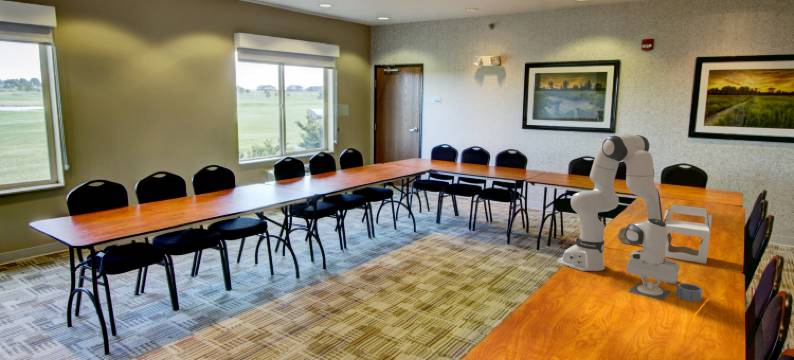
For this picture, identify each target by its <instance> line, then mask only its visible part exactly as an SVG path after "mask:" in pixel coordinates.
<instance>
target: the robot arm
mask: <svg viewBox="0 0 794 360" xmlns="http://www.w3.org/2000/svg"><path fill="white" fill-rule="evenodd" d="M649 150H650V142H649V140H648V138H647V137H645V136H643V135H640V134H620V135H611V136H608V137H607V138H605V139H604V140H603V142H602V144H601V145H600V146H599V148H598V150H597V152H596V155H595V157H594V160H593V163H592V166H591V170H590V173H589V179H590V181H591V182H592V184H593V183H594V187H593V189H592V190H582V191H578V192H576V193H574V194H572V196H571V198H570V206H571V209H572V210H573V211H575V213H576V214H577V216H578V218H579V222H580V223H579V224H580V231H579V233H580V234H579V236H578V237H576V239H575V240H574V243H575V244H574V245H572V246H570V247H569V248H567V249H565V250H564V252H563V255H562V257H560V258H558V259H557V263H558V264H560V265H563V266H565V267H568V266H569V267H570V268H572V269H575V270H579V271H582V272H587V271H588V272H589V271H591V272H600V271H603V270H605V269H606V268H605V262H604V251H605V240H604V239H605V230H606V229H605V228H606V226H605V224H604V223H603V222H602V221H601V220H600V218H599V214H598V213H604V212H610V211H612V210H615V209H616V208H617V207H618V206H619V203H620V199H619V198H620V197H619V196H618V195H619V194H617V192H616V191H615V189H614V187H615V186H614V184H615V178H616V175H617V171H618V168H619V164H620V163H621V162H622V161H623V162H624V164H625V166H626V173H625V175H626V177H625V183H626V188H627V189H628V191H630V193H632V194H634V196H638V197H640V198H642V199H643V201H644V202H645V205H646V213H647V219H646V220H644V221H640V222H633V223H629V224H628V225H627V226H625V227H626V230H625V237H626V239H627V240H628V242H630V243H631V244H630V245H637V246H642V250H641V249H639V250H634V251H632V252H631V253H630V255H629V256H630V258H629V259H628V261H627V262H626V263H627V264H626V267H625V268H626V272H627V273H628V274H631V275H637V276H640V280H641V281H642V284H643V286H646V287H647V282H648V281H647V280H646V279H645V278H649V279H652V280H653V279H654V280H656V283H654V285H653V288H654V289H658V288H659V285H660V284H661V282H665V281H666V282H670V283H675V282H676V283H677V282H678V281H679V271H680V264H679V263H678V262H677V261H675V260H670V259H666V257H665V252H666V250H665V244H666V242H667V226H666V224H665V223H664V217H663V212H662V211H663V210H662V202H661V194H660V191H659V189H658V188H657V186H656V183H655V174H654V173H655V172H654V171H655V169H654V160H653V155H652V154H651V153H650V152H649ZM569 267H568V268H569ZM666 282H665V283H666ZM670 283H669V284H670Z"/></svg>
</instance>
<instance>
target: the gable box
mask: <svg viewBox="0 0 794 360" xmlns="http://www.w3.org/2000/svg"><path fill="white" fill-rule="evenodd" d="M707 211H708V210H707V208H706V207H698V206H691V205H681V204H672V205H670V209H665V211H664V217H663V222H664V223H665V224H666V226H667V242H666V244H665V250H666V252H665V258H667V259H675V260H681V261H686V262H694V263H699V264H707V259H708V254H709V253H708V252H709V246H710V245H709V244H710V237H711V229H712V228H711V227H712V221H713V220H712V218H713V217H712V216H713V215H712V214H708V212H707ZM672 214H681V215H689V216H695V217H696V216H698V217H702V218H703V217H704V223H701V222H700V223H699V222H694V221H693V222H692V221H686V220H685V221H684V220H677V219H671V216H672ZM671 233H677V234H681V235H685V236H689V237H690V236H693V237H699V238H701V240H700V243H699V247H698V249H694V248H691V247H688V246H682V245H681V246H675V245H674V246H673V245H672V239H673V238H672V235H671Z"/></svg>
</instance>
